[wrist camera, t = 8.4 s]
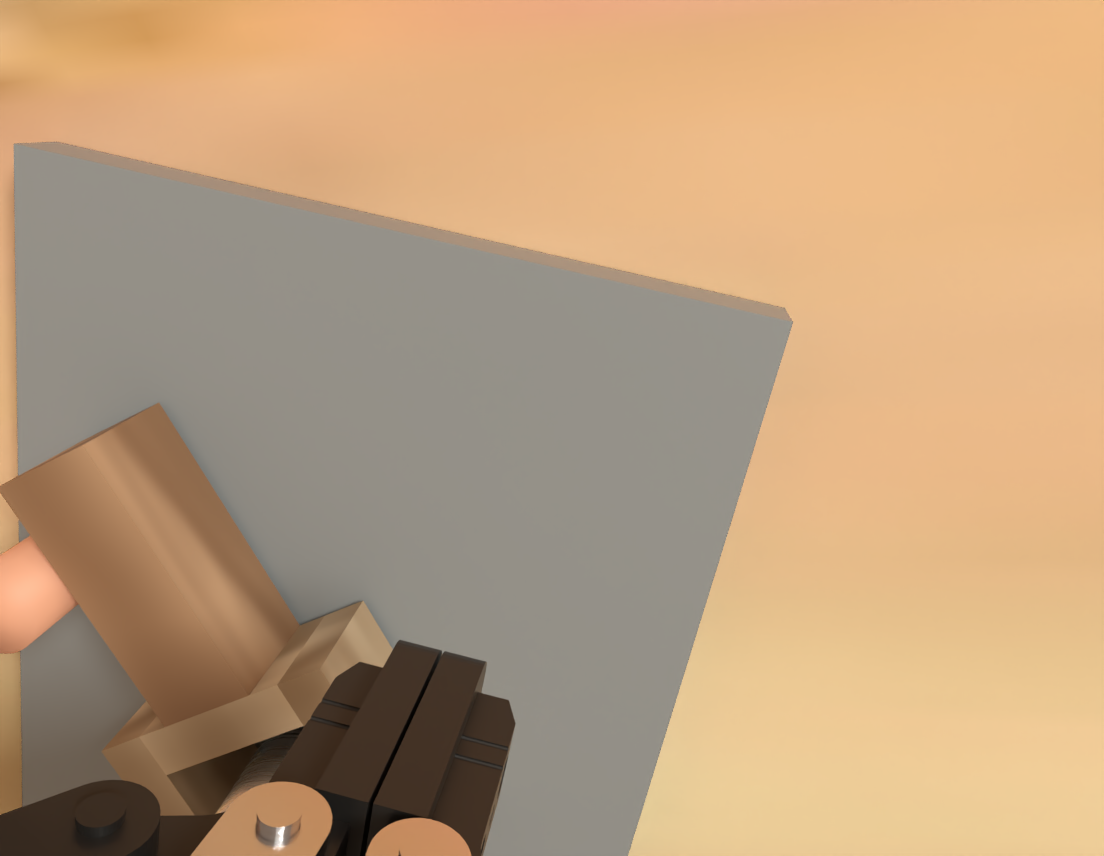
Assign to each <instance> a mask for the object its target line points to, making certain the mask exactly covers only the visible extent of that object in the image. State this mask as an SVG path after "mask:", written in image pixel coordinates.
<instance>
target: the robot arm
mask: <svg viewBox="0 0 1104 856" xmlns="http://www.w3.org/2000/svg"><path fill="white" fill-rule="evenodd" d="M486 666H487V662H486V661H482V660H478V659H474V658H470V657H466V656H462V655H459V654H455V653H451V652H447V651H444V653H443V654H442V650H438V649H434V648H431V647H427V646H423V645H419V644H415V643H411V642H407V641H403V640H399V641H398V642H397V643H396V645H395V647H394V649H393V650H392V652H391V654H390V656H389V657H388V659H387V661H386V663H385V665H384V666H383V668H382V667H378V666H375V665H371V664H367V663H363V662H358V663H357V664H355V665H354V666H352V667H351V668H349V669H348V670H346V671H344V672H343V673H341V674H340V675H338V676H337V677H336V678H335V679H334V681H333V682H332V684H331V685H330V687H329V689H328V690H327V692H326V693H325V695H324V696H323V698H322V701H321V703H319V704H318V706H317V707H316V709H315V711H314V712H313V714H312V715H311V719H310V720H308V722H307V723H306V725H305V726H304V728H303V729H302V731H301V732H300V734H299V736H298V737H297V739H296V740H295V742H294V743H293V745H292V747H291V748H290V750H289V751H288V753H287V754H286V756H285V758H284V759H283V761H282V762H281V764H280V765H279V767H278V769H277V770H276V772H275V773H274V775H273V776H272V778H271V780H270V781H269V783H266V784H262V785H259V786H256V787H254V788H251V789H250V790H248V791H246V792H244V793H243V794H242V795H240V796H239V797H238V798H237V799H236V800H235V801H234V802H233V803H232V804H231V805H230V806H229V808H228V809H227V810H226V811H225V812H222V813H217V814H211V815H179V816H160V813H161V810H160V804H159V802H158V800H157V798H156V797H155V795H154V794H153V793H152V792H151V791H150V790H148V789H147V788H146V787H144V786H142V785H140V784H137V783H134V782H130V781H124V780H102V781H97V782H92V783H88V784H85V785H82V786H79V787H76V788H74V789H71V790H68V791H65V792H63V793H60V794H57V795H54V796H51V797H49V798H46V799H43V800H40V801H38V802H35V803H32V804H29V805H27V806H24V807H21V808H18V809H16V810H13V811H10V812H7V813H4V814H2V815H0V856H483V853H484V850H485V846H486V842H487V839H488V835H489V832H490V828H491V824H492V821H493V818H494V814H495V810H496V807H497V803H498V800H499V796H500V791H501V787H502V782H503V778H504V773H505V769H506V764H507V760H508V756H509V751H510V747H511V742H512V738H513V733H514V729H515V724H516V723H515V720H514V716H513V713H512V709H511V706H510V702H509V700H506V699H503V698H499V697H495V696H491V695H487V694H483V693H481V692H482V687H483V682H484V677H485V672H486Z"/></svg>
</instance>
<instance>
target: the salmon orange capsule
mask: <svg viewBox="0 0 1104 856" xmlns="http://www.w3.org/2000/svg"><path fill="white" fill-rule="evenodd" d="M77 605H78V603H77V601H76V600H75V598H74V597H73V596H72V594H71V593H70V591H69V590H68V589H67V587H66V586H65V584H64V583H63V581H62V580H61V579H60V577H59V576H58V574H57V573H56V571H55V570H54V569H53V567H52V566H51V564H50V563H49V561H48V560H47V559H46V557H45V556H44V554H43V553H42V551H41V550H40V549H39V547H38V546H37V544H36V543H35V541H34V540H33V539H32V537H31V536H29V537H27V538H26V539H24V540H23V541H21V542H20V543H18V544H16V545H15V546H13V547H12V548H10V549H9V550H7V551H6V552H4V553H3V554H1V555H0V653H5V654H7V653H15V652H18V651H21V650H23V649H24V648H26V647H27V646H28V645H30V644H31V643H32V642H33V641H34V640H36V639H37V638H38V637H39V636H40V635H42V634H43V633H44V632H45V631H47V630H48V629H49V628H50V627H51V626H53V625H54V624H55V623H56V622H57V621H59V620H60V619H61V618H62V617H63V616H65V615H66V614H67V613H68V612H70V611H71V610H72V609H73V608H74V607H76V606H77Z"/></svg>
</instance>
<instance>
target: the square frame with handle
mask: <svg viewBox="0 0 1104 856" xmlns="http://www.w3.org/2000/svg"><path fill="white" fill-rule="evenodd" d="M0 493H1V494H2V496H3V497H4V499H5V500H6V502H7V503H8V504H9V506H10V507H11V509H12V510H13V512H14V513H15V514H16V516H17V517H18V519H19V520H20V522H21V523H22V524H23V526H24V527H25V529H26V530H27V532H28V533H29V534H30V536H31V537H32V539H33V540H34V541H35V543H36V544H37V546H38V547H39V549H40V550H41V551H42V553H43V554H44V556H45V557H46V559H47V560H48V561H49V563H50V564H51V566H52V567H53V569H54V570H55V571H56V573H57V574H58V576H59V577H60V579H61V580H62V581H63V583H64V584H65V586H66V587H67V589H68V590H69V591H70V593H71V594H72V596H73V597H74V598H75V600H76V601H77V603H78V604H79V606H80V607H81V608H82V610H83V611H84V613H85V614H86V616H87V617H88V618H89V620H90V621H91V623H92V624H93V626H94V627H95V628H96V630H97V631H98V633H99V634H100V636H101V637H102V638H103V640H104V641H105V643H106V644H107V645H108V647H109V648H110V650H111V651H112V653H113V654H114V655H115V657H116V658H117V660H118V661H119V663H120V664H121V665H122V667H123V668H124V670H125V671H126V673H127V674H128V675H129V677H130V678H131V680H132V681H133V683H134V684H135V685H136V687H137V688H138V690H139V691H140V693H141V694H142V695H143V697H144V698H145V700H146V702H145V703H144V704H143V705H142V706H141V707H140V709H139V710H138V711H137V712H136V713H135V714H134V715H133V716H132V717H131V719H130V720H129V721H128V722H127V723H126V724H125V725H124V726H123V728H122V729H121V730H120V731H119V732H118V733H117V734H116V735H115V736H114V738H113V739H112V740H111V741H110V742H109V743H108V744H107V745H106V747H105V748H104V749H103V750H102V751H101V752H102V753H103V754H104V756H105V757H106V759H107V760H108V761H109V763H110V764H111V765H112V767H113V768H114V769H115V771H116V772H117V774H118V775H119V776H120V778H121V779H122V780H124V781H130V782H134V783H137V784H140V785H142V786H144V787H146V788H147V789H148V790H150V791H151V792H152V793H153V794H154V795H155V797H156V798H157V800H158V802H159V804H160V810H161V813H160V816H179V815H211V814H216V812H217V811H218V809H219V807H220V806H221V804H222V803H223V801H224V800H225V798H226V797H227V795H228V794H229V792H230V791H231V789H232V787H233V786H234V784H235V783H236V781H237V780H238V778H239V777H240V775H241V774H242V772H243V771H244V769H245V767H246V766H247V764H248V763H249V761H250V760H251V758H252V757H253V755H254V754H255V752H256V751H257V747H256V746H255V744H254V743H257V742H260V741H263V740H266V739H268V738H271V737H274V736H277V735H280V734H282V733H285V732H288V731H291V730H293V729H296V728H299V727H302V726H305V725H306V723H307V722H308V720H310V719H311V715H312V714H313V712H314V711H315V709H316V707H317V706H318V704H319V703H321V701H322V698H323V696H324V695H325V693H326V692H327V690H328V689H329V687H330V685H331V684H332V682H333V681H334V679H335V678H336V677H337V676H338V675H340V674H341V673H343V672H344V671H346V670H348V669H349V668H351V667H352V666H354V665H355V664H357V663H358V662H363V663H367V664H371V665H375V666H378V667H382V668H383V666H384V665H385V663H386V661H387V659H388V657H389V656H390V654H391V652H392V650H393V649H392V647H391V646H390V644H389V642H388V641H387V639H386V637H385V636H384V634H383V632H382V631H381V629H380V627H379V626H378V624H377V623H376V621H375V619H374V618H373V616H372V614H371V613H370V611H369V609H368V608H367V606H366V604H365V603H364V601H361V602H358V603H356V604H353V605H351V606H348V607H345V608H343V609H340V610H338V611H335V612H333V613H330V614H328V615H325V616H323V617H320V618H318V619H315V620H313V621H310V622H308V623H305V624H302V625H299V624H298V622H297V620H296V619H295V617H294V616H293V614H292V612H291V611H290V609H289V608H288V606H287V605H286V603H285V601H284V600H283V598H282V597H281V595H280V593H279V592H278V590H277V589H276V587H275V585H274V584H273V582H272V581H271V579H270V578H269V576H268V574H267V573H266V571H265V570H264V568H263V566H262V565H261V563H260V562H259V560H258V559H257V557H256V555H255V554H254V552H253V551H252V549H251V547H250V546H249V544H248V543H247V541H246V539H245V538H244V536H243V535H242V533H241V532H240V530H239V528H238V527H237V525H236V524H235V522H234V520H233V519H232V517H231V516H230V514H229V513H228V511H227V509H226V508H225V506H224V505H223V503H222V501H221V500H220V498H219V497H218V495H217V493H216V492H215V490H214V489H213V487H212V486H211V484H210V482H209V481H208V479H207V478H206V476H205V474H204V473H203V471H202V470H201V468H200V467H199V465H198V463H197V462H196V460H195V459H194V457H193V455H192V454H191V452H190V451H189V449H188V447H187V446H186V444H185V443H184V441H183V440H182V438H181V436H180V435H179V433H178V432H177V430H176V428H175V427H174V425H173V424H172V422H171V421H170V419H169V417H168V416H167V414H166V413H165V411H164V409H163V408H162V406H161V405H160V403H157V404H155V405H153V406H151V407H149V408H147V409H145V410H143V411H141V412H139V413H137V414H135V415H133V416H131V417H129V418H127V419H125V420H123V421H121V422H119V423H117V424H115V425H113V426H111V427H109V428H107V429H105V430H103V431H101V432H99V433H97V434H95V435H93V436H91V437H89V438H87V439H85V440H83V441H81V442H79V443H77V444H75V445H73V446H72V447H70V448H68V449H66V450H64V451H63V452H61V453H59V454H57V455H55V456H54V457H52V458H50V459H48V460H46V461H45V462H43V463H41V464H39V465H37V466H35V467H34V468H32V469H30V470H28V471H26V472H25V473H23V474H21V475H19V476H17V477H16V478H14V479H12V480H10V481H8V482H7V483H5V484H3V485H1V486H0Z"/></svg>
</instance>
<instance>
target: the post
mask: <svg viewBox="0 0 1104 856" xmlns="http://www.w3.org/2000/svg"><path fill="white" fill-rule="evenodd" d="M303 728H304V726H302V727H299V728H296V729H293V730H291V731H288V732H285V733H282V734H280V735H277V736H274V737H271V738H268V739H266V740H263V741H262V743H261V744H260V746H259V748H258V749H257V751H256V752H255V754H254V755H253V757H252V758H251V760H250V761H249V763H248V764H247V766H246V767H245V769H244V771H243V772H242V774H241V775H240V777H239V778H238V780H237V781H236V783H235V784H234V786H233V787H232V789H231V791H230V792H229V794H228V795H227V797H226V798H225V800H224V801H223V803H222V804H221V806H220V807H219V809H218V811H217V812H216V814H217V813H222V812H225V811H226V810H227V809H228V808H229V806H230V805H231V804H232V803H233V802H234V801H235V800H236V799H237V798H238V797H239V796H240V795H242V794H243V793H244V792H246V791H248V790H250V789H251V788H254V787H256V786H259V785H262V784H266V783H269V781H270V780H271V778H272V776H273V775H274V773H275V772H276V770H277V769H278V767H279V765H280V764H281V762H282V761H283V759H284V758H285V756H286V754H287V753H288V751H289V750H290V748H291V747H292V745H293V743H294V742H295V740H296V739H297V737H298V736H299V734H300V732H301V731H302V729H303Z"/></svg>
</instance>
